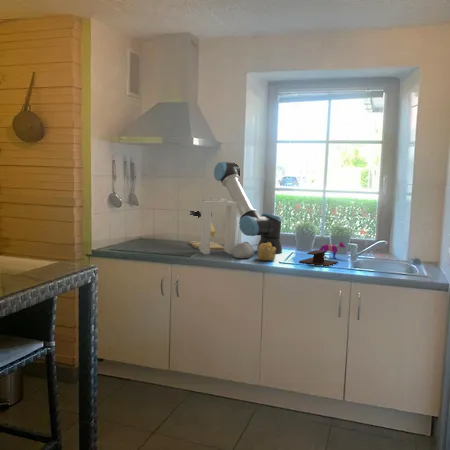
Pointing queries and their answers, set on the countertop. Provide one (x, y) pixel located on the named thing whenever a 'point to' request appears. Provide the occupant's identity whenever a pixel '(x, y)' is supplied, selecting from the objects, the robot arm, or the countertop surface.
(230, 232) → the bridge
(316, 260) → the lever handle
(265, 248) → the stone
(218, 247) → the board
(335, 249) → the toy dog
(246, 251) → the decorative stone
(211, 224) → the bar
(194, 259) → the countertop surface
